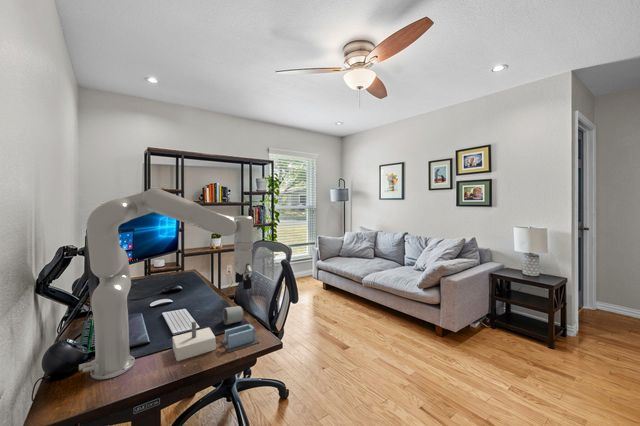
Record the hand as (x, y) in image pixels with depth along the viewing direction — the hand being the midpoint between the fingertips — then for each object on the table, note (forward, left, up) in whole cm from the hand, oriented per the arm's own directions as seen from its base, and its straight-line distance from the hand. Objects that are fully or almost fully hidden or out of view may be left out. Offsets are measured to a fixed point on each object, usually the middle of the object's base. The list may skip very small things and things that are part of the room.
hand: (243, 285), depth 117 cm
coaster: (-2, -1, -24) cm, 24 cm away
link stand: (-19, +4, -24) cm, 30 cm away
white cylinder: (+2, +19, -24) cm, 31 cm away
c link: (-2, -1, -23) cm, 23 cm away
